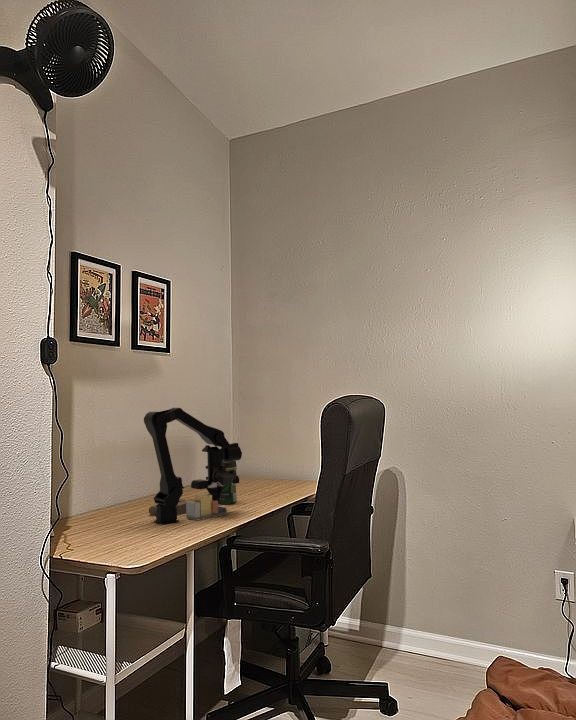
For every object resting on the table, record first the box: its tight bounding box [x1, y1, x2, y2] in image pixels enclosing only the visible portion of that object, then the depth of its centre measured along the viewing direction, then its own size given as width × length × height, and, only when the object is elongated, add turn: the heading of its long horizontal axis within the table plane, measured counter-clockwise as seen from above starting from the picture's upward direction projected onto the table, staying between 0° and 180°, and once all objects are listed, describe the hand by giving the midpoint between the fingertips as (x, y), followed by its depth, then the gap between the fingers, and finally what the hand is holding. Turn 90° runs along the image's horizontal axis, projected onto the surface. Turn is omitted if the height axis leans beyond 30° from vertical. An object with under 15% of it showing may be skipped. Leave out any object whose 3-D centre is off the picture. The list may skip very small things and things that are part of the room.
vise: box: [185, 501, 228, 521], centre depth 222 cm, size 14×6×6 cm, turn 133°
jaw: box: [212, 500, 219, 513], centre depth 224 cm, size 2×6×4 cm, turn 43°
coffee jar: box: [218, 460, 238, 505], centre depth 251 cm, size 10×8×19 cm
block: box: [194, 493, 212, 516], centre depth 221 cm, size 5×4×7 cm
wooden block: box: [148, 498, 195, 516], centre depth 231 cm, size 4×11×18 cm
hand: (216, 505), depth 225 cm, fingers closed
